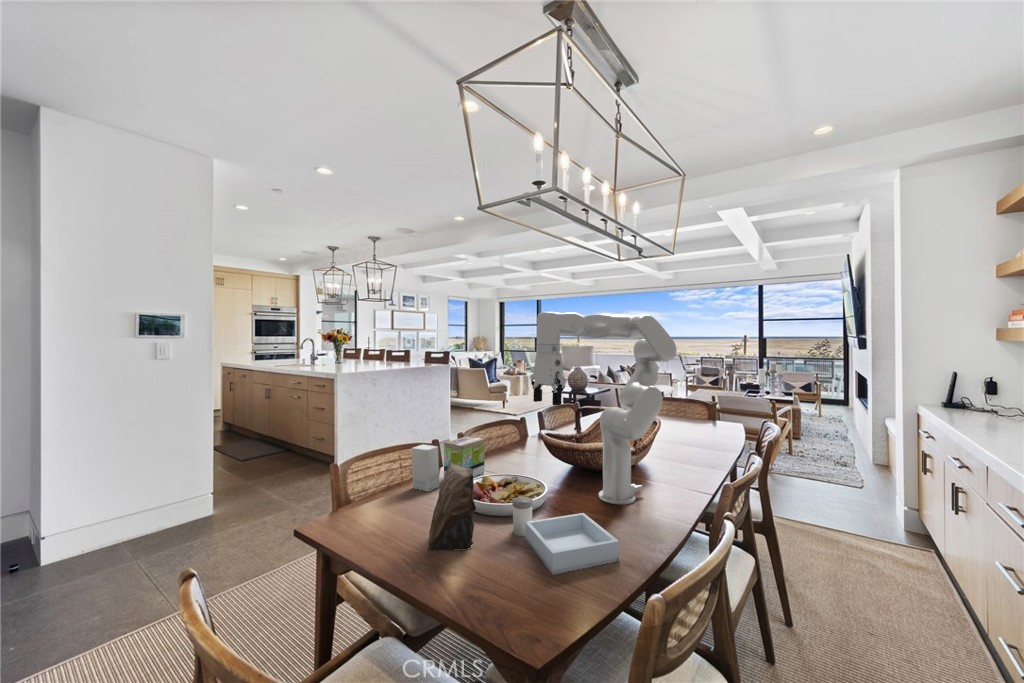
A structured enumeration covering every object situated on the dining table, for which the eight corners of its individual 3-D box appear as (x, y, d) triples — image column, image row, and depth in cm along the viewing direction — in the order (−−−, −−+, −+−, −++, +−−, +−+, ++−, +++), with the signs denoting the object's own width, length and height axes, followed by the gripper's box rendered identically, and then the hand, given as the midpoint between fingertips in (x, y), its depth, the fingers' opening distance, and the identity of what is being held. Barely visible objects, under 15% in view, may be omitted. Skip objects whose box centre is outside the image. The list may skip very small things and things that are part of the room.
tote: (583, 530, 118) (583, 512, 118) (619, 561, 101) (619, 541, 101) (525, 540, 113) (525, 521, 113) (552, 574, 96) (552, 553, 96)
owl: (444, 529, 120) (443, 460, 120) (485, 533, 117) (485, 463, 117) (425, 550, 107) (425, 474, 107) (471, 555, 105) (470, 477, 105)
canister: (528, 526, 121) (528, 495, 121) (535, 534, 116) (535, 502, 116) (509, 529, 119) (509, 498, 119) (516, 537, 114) (516, 505, 114)
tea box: (462, 483, 159) (462, 445, 159) (443, 479, 164) (442, 442, 164) (485, 473, 172) (485, 437, 172) (466, 469, 177) (466, 435, 177)
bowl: (514, 481, 162) (514, 461, 162) (565, 506, 137) (565, 482, 137) (445, 497, 145) (445, 475, 145) (489, 529, 120) (488, 502, 120)
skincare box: (439, 487, 155) (439, 446, 155) (427, 492, 149) (427, 450, 149) (423, 483, 159) (423, 443, 159) (411, 488, 153) (410, 447, 154)
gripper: (575, 350, 127) (574, 405, 127) (540, 350, 142) (539, 399, 141) (556, 350, 123) (555, 407, 123) (523, 349, 137) (521, 400, 137)
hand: (547, 403), depth 132 cm, fingers open, 9 cm apart
